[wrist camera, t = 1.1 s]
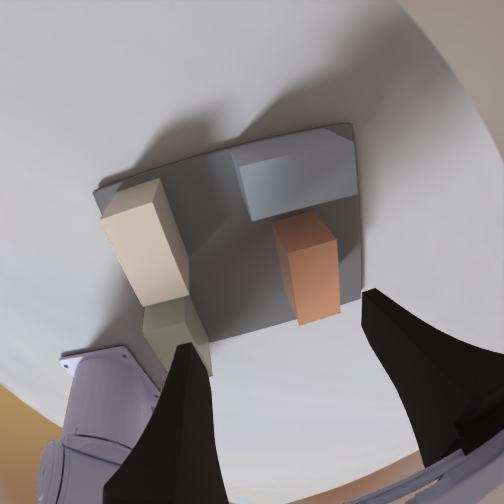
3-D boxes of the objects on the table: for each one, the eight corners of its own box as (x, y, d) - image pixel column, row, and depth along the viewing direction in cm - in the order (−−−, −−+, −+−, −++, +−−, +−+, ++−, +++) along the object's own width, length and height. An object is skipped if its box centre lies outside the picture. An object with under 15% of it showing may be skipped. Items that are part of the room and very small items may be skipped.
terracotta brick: (321, 279, 24) (340, 312, 21) (284, 289, 24) (299, 325, 21) (313, 211, 21) (336, 239, 18) (271, 222, 21) (287, 253, 18)
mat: (358, 295, 27) (360, 298, 26) (172, 346, 26) (172, 351, 26) (349, 122, 19) (352, 123, 18) (94, 190, 18) (92, 192, 18)
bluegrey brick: (324, 128, 18) (353, 141, 15) (330, 172, 20) (357, 194, 16) (230, 149, 18) (239, 167, 15) (241, 194, 20) (252, 221, 16)
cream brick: (188, 258, 21) (189, 294, 18) (148, 269, 21) (142, 306, 18) (160, 177, 18) (152, 201, 15) (115, 192, 18) (99, 219, 15)
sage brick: (208, 338, 26) (212, 376, 22) (175, 346, 26) (175, 383, 22) (184, 284, 22) (184, 322, 19) (146, 294, 22) (141, 332, 19)
